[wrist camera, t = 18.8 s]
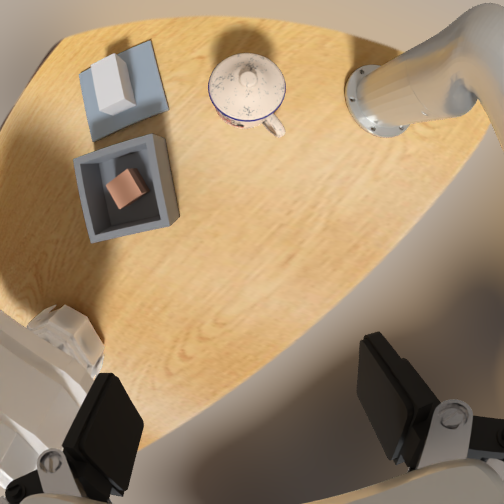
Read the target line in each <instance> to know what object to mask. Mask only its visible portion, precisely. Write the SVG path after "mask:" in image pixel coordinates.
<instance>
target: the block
mask: <svg viewBox="0 0 504 504" xmlns="http://www.w3.org/2000/svg"><path fill="white" fill-rule="evenodd" d="M106 187H107V189H108V190H109V192H110V194H111V196H112V197H113V199H114V201H115V203H116V204H117V206H118V208H119V209H122V208H124V207H127V206H129V205H131V204H132V203H133V202H135V201H136V200H138V199H139V198H140V197H142V196H143V195H145V194H146V193H148V192H149V191H150V190H149V188H148V186H147V185H146V183H145V181H144V180H143V178H142V176H141V174H140V173H139V171H138V169H137V168H132V169H126V170H125V171H124V172H122V173H121V174H120V175H118V176H117V177H116V178H114V179H113V180H112V181H110V182H109V183H108V184H107V185H106Z"/></svg>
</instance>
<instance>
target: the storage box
mask: <svg viewBox="0 0 504 504" xmlns="http://www.w3.org/2000/svg"><path fill="white" fill-rule="evenodd" d="M73 162H74V168H75V174H76V180H77V185H78V190H79V195H80V200H81V205H82V209H83V214H84V218H85V222H86V226H87V230H88V234H89V238H90V242H91V243H95V242H100V241H104V240H108V239H113V238H117V237H122V236H126V235H131V234H135V233H140V232H144V231H149V230H154V229H159V228H163V227H168V226H171V225H172V224H173V223H174V222H175V221H176V220H177V219H178V218H179V217H180V214H179V210H178V205H177V200H176V195H175V190H174V185H173V179H172V174H171V169H170V163H169V157H168V152H167V146H166V140H165V138H163V137H160V136H158V135H155V134H153V133H152V134H148V135H145V136H141V137H138V138H134V139H131V140H127V141H124V142H121V143H118V144H115V145H112V146H109V147H106V148H103V149H100V150H97V151H94V152H91V153H88V154H86V155H83V156H80V157H78V158H75V159H73ZM132 168H137V169H138V171H139V173H140V174H141V176H142V178H143V180H144V181H145V183H146V185H147V186H148V188H149V190H150V191H149V192H148V193H146V194H145V195H143V196H142V197H140V198H139V199H138V200H136V201H135V202H133V203H132V204H131V205H129V206H127V207H124V208H122V209H119V208H118V206H117V204H116V203H115V201H114V199H113V197H112V196H111V194H110V192H109V190H108V189H107V187H106V185H107V184H108V183H109V182H110V181H112V180H113V179H114V178H116V177H117V176H118V175H120V174H121V173H122V172H124V171H125V170H126V169H132Z"/></svg>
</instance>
